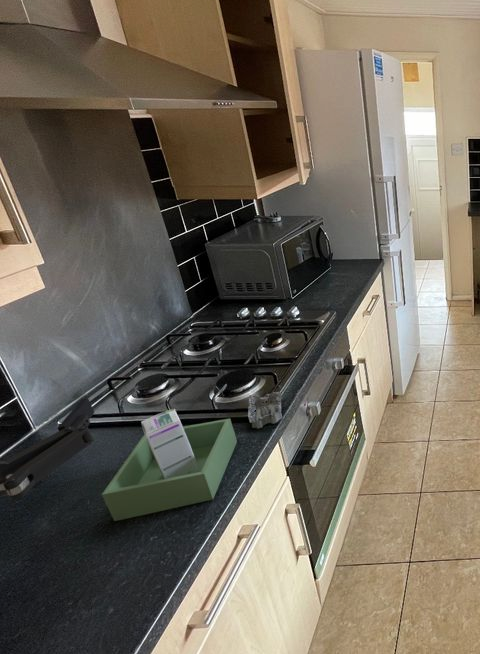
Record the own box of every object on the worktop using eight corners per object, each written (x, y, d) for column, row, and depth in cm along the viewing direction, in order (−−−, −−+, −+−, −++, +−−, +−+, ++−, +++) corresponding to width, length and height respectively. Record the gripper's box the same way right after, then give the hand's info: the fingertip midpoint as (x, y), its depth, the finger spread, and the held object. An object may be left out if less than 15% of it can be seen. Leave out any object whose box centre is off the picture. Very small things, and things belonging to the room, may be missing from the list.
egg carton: (251, 406, 111) (248, 394, 110) (283, 398, 114) (280, 386, 113) (249, 432, 102) (245, 418, 101) (283, 422, 106) (280, 409, 104)
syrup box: (201, 472, 90) (182, 419, 84) (167, 490, 86) (145, 434, 80) (194, 459, 93) (175, 406, 88) (161, 474, 89) (139, 420, 84)
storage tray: (114, 521, 80) (101, 494, 78) (154, 457, 95) (145, 433, 92) (213, 499, 85) (204, 473, 82) (237, 441, 99) (230, 418, 97)
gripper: (-269, 624, 40) (-80, 461, 58) (70, 531, 48) (142, 416, 67) (-326, 572, 37) (-109, 418, 55) (44, 484, 46) (126, 377, 64)
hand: (29, 417), depth 61 cm, fingers open, 13 cm apart
